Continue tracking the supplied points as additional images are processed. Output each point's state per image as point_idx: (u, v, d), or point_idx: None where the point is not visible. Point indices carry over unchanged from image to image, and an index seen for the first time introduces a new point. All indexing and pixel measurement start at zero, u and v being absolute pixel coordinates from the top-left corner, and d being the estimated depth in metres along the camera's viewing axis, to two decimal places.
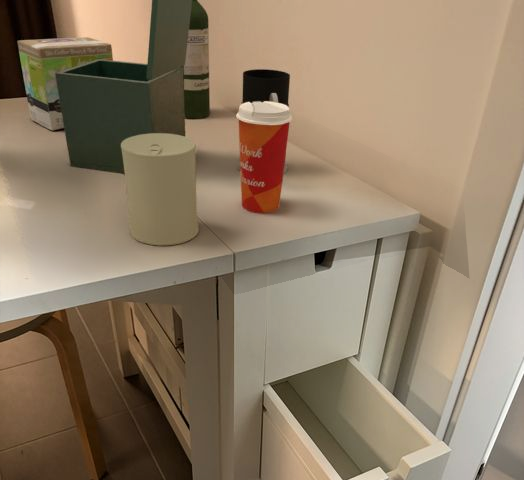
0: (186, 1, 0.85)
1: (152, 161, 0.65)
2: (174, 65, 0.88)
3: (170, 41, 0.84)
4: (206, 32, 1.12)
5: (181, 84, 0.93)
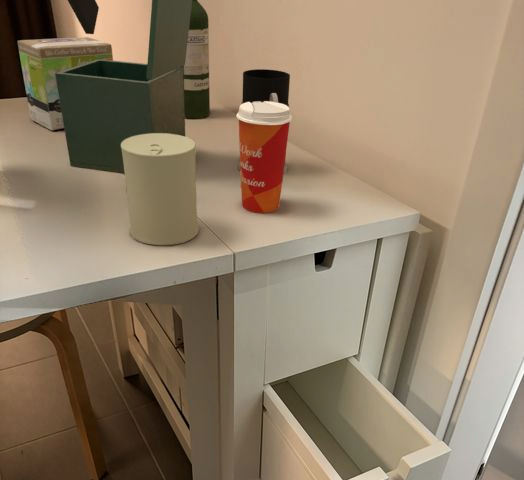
0: (186, 1, 0.85)
1: (152, 161, 0.65)
2: (174, 65, 0.88)
3: (170, 41, 0.84)
4: (206, 32, 1.12)
5: (181, 84, 0.93)
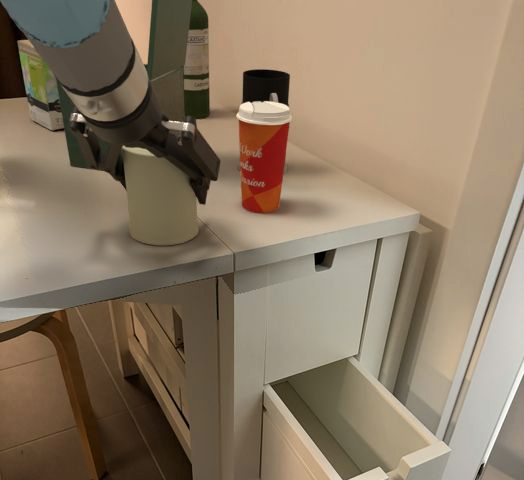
0: (186, 1, 0.85)
1: (152, 161, 0.65)
2: (174, 65, 0.88)
3: (170, 41, 0.84)
4: (206, 32, 1.12)
5: (181, 84, 0.93)
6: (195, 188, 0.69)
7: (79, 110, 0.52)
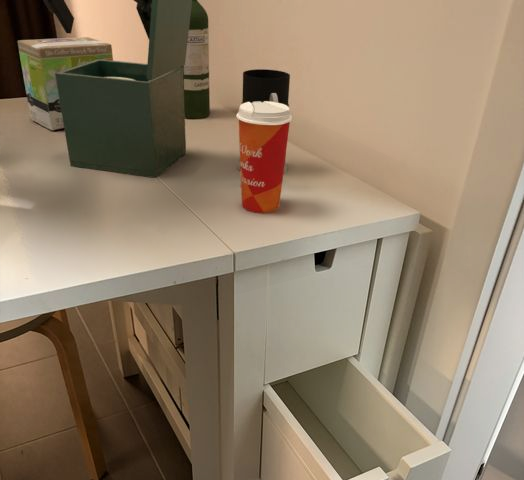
0: (186, 1, 0.85)
1: None
2: (174, 65, 0.88)
3: (170, 41, 0.84)
4: (206, 32, 1.12)
5: (181, 84, 0.93)
6: (142, 16, 0.82)
7: None
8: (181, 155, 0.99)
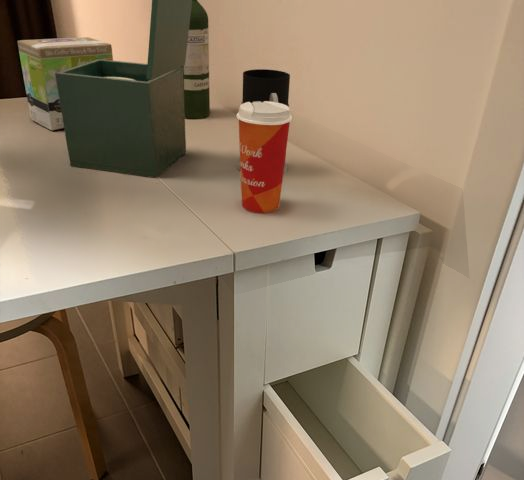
0: (186, 1, 0.85)
1: None
2: (174, 65, 0.88)
3: (170, 41, 0.84)
4: (206, 32, 1.12)
5: (181, 84, 0.93)
6: None
7: None
8: (181, 155, 0.99)
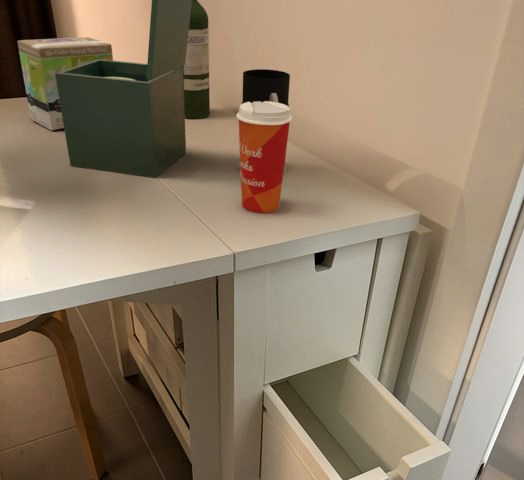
0: (186, 0, 0.85)
1: None
2: (174, 65, 0.88)
3: (170, 41, 0.84)
4: (206, 32, 1.12)
5: (181, 84, 0.93)
6: None
7: None
8: (181, 155, 0.99)
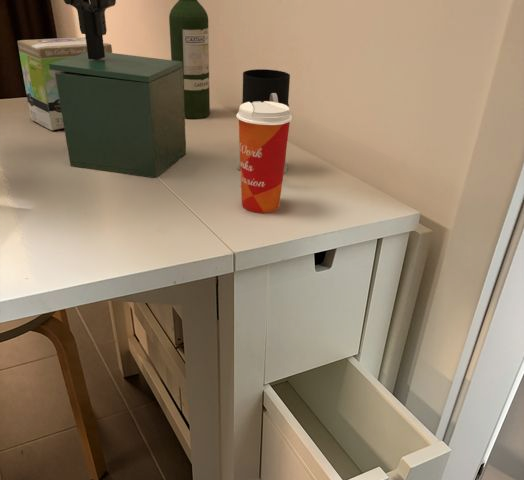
0: (123, 57, 0.92)
1: None
2: (167, 65, 0.89)
3: (138, 65, 0.87)
4: (206, 32, 1.12)
5: (181, 84, 0.93)
6: (90, 23, 0.85)
7: None
8: (181, 155, 0.99)
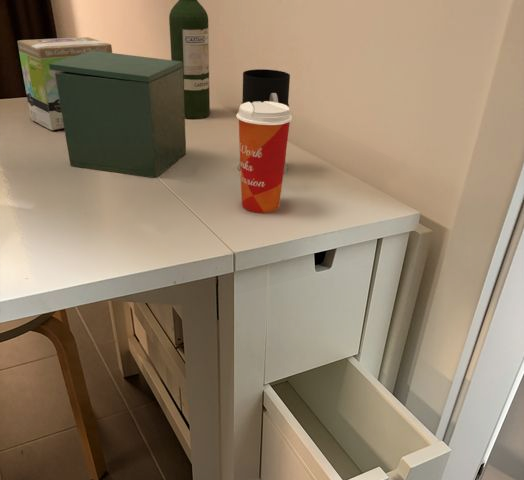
0: (123, 57, 0.92)
1: None
2: (167, 65, 0.89)
3: (138, 65, 0.87)
4: (206, 32, 1.12)
5: (181, 84, 0.93)
6: None
7: None
8: (181, 155, 0.99)
